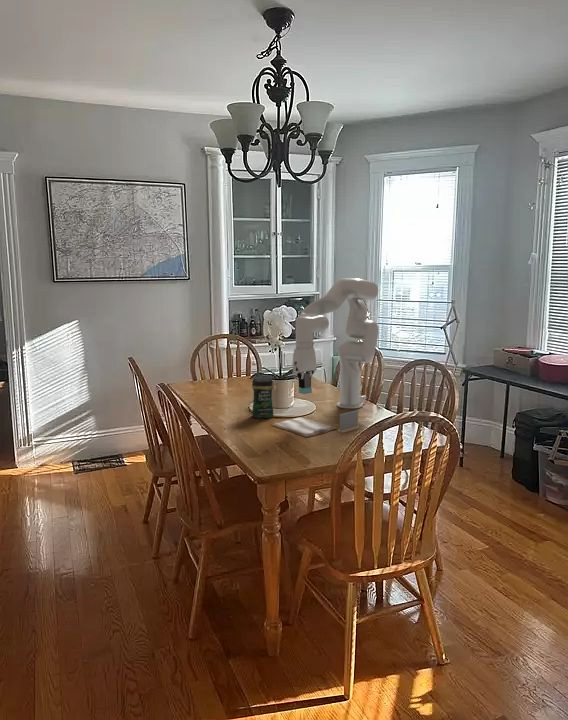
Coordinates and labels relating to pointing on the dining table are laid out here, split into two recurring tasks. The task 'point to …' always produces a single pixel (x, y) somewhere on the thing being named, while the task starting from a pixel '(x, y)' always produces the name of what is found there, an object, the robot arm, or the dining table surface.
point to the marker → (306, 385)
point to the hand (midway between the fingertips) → (304, 386)
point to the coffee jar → (262, 397)
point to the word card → (348, 421)
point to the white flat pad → (304, 427)
